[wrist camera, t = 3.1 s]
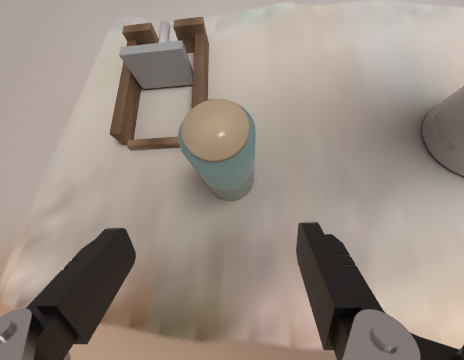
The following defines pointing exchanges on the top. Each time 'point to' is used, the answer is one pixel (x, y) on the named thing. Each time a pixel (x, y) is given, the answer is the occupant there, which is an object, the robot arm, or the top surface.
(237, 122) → the jar
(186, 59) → the pusher
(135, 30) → the brown rectangular open frame
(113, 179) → the top surface
